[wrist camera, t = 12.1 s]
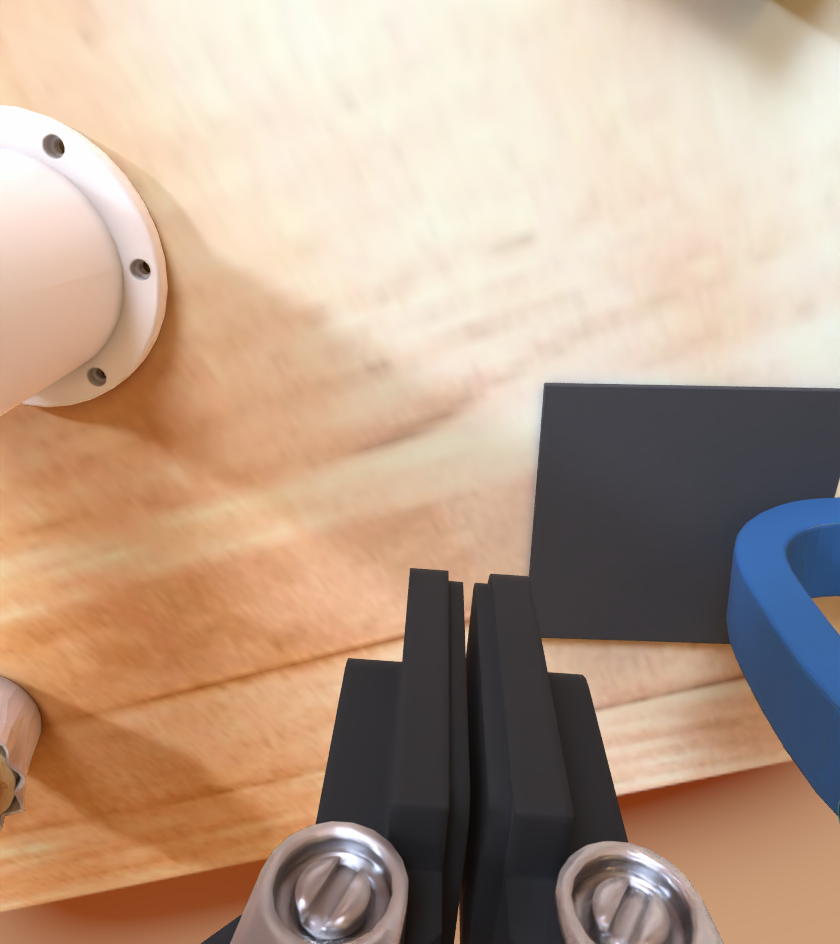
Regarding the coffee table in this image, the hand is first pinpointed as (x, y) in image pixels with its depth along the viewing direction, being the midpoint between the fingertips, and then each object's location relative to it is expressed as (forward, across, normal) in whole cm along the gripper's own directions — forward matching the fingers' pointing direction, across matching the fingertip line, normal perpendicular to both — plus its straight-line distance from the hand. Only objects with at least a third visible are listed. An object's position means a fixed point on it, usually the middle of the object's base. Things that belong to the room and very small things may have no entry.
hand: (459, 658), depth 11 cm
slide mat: (+24, -19, +10) cm, 32 cm away
